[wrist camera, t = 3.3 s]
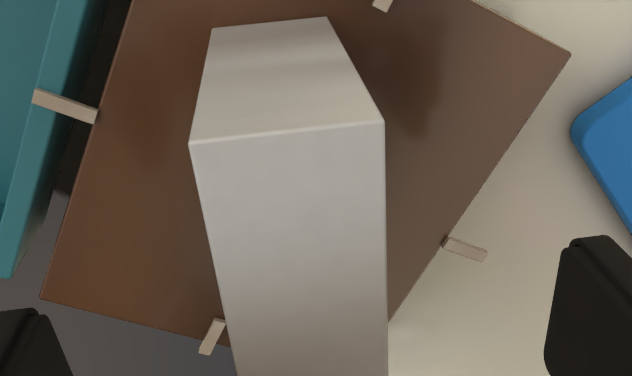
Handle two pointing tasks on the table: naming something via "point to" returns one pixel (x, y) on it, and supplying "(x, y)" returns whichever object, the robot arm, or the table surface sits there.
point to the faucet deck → (177, 170)
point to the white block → (293, 200)
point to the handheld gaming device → (609, 146)
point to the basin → (37, 107)
